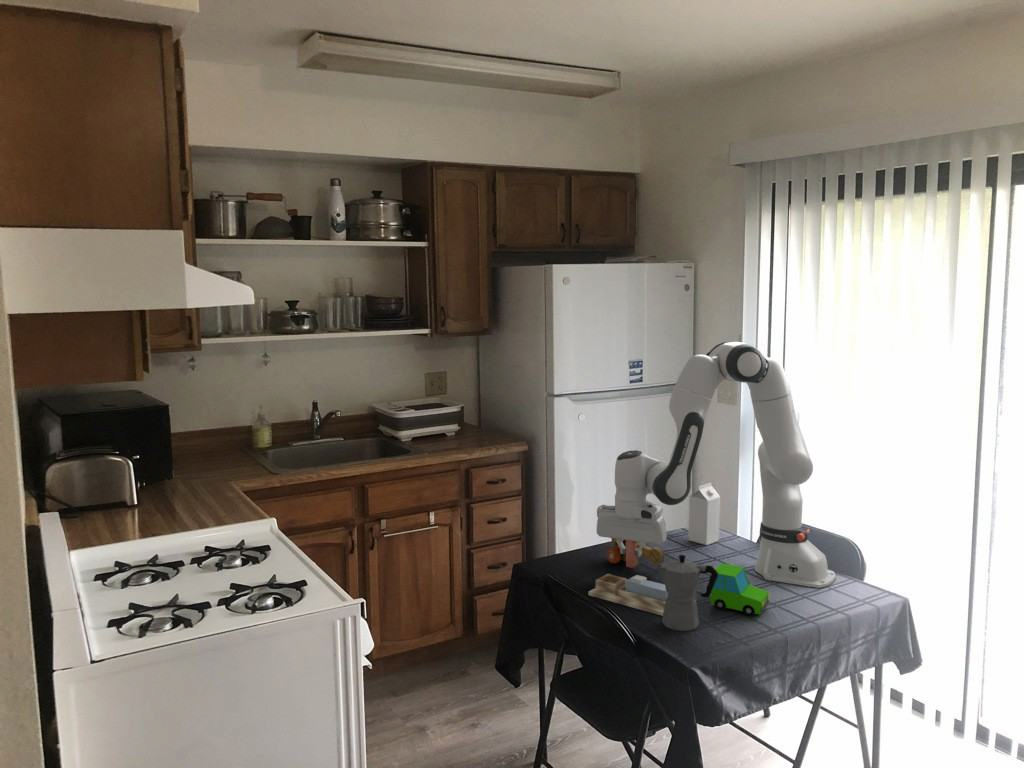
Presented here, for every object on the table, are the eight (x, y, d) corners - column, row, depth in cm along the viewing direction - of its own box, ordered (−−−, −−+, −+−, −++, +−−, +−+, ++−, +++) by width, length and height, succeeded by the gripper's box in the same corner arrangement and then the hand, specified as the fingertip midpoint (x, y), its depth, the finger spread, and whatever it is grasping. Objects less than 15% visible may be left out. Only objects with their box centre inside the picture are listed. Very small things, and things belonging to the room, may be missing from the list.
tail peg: (638, 565, 242) (638, 538, 241) (632, 568, 240) (632, 541, 239) (629, 563, 244) (629, 536, 243) (623, 566, 242) (623, 539, 241)
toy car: (760, 620, 214) (761, 583, 213) (709, 609, 221) (710, 573, 220) (770, 607, 223) (772, 570, 222) (721, 597, 230) (722, 561, 229)
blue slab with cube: (672, 601, 224) (672, 583, 224) (665, 605, 221) (665, 587, 221) (632, 590, 232) (633, 573, 231) (625, 594, 229) (625, 577, 228)
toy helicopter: (622, 554, 264) (623, 512, 262) (672, 574, 247) (673, 528, 245) (603, 560, 259) (604, 517, 257) (652, 580, 242) (653, 534, 240)
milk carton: (688, 540, 277) (689, 484, 274) (700, 536, 282) (702, 480, 279) (706, 545, 272) (708, 488, 269) (719, 541, 277) (720, 484, 274)
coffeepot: (653, 629, 209) (655, 560, 207) (654, 614, 218) (655, 547, 216) (717, 634, 207) (719, 563, 204) (715, 618, 216) (717, 550, 213)
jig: (685, 601, 227) (685, 589, 226) (663, 616, 217) (663, 603, 217) (611, 582, 241) (611, 570, 240) (588, 595, 231) (588, 582, 231)
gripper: (592, 506, 242) (593, 553, 244) (660, 514, 232) (661, 563, 234) (601, 501, 248) (601, 546, 250) (668, 508, 238) (668, 556, 240)
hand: (631, 554), depth 242 cm, fingers closed on tail peg, 3 cm apart
